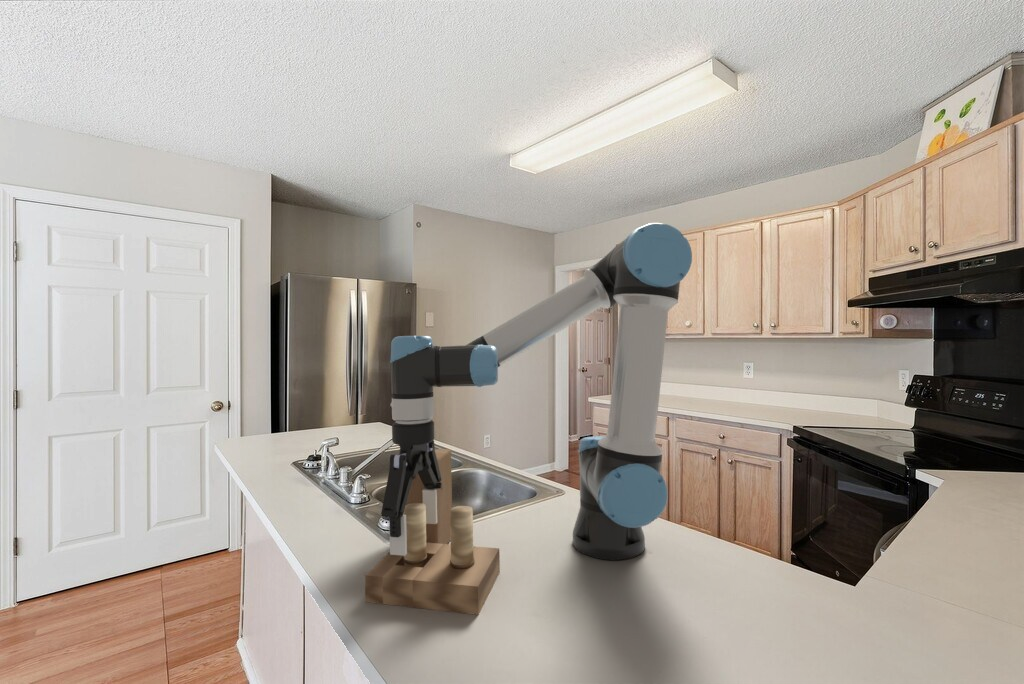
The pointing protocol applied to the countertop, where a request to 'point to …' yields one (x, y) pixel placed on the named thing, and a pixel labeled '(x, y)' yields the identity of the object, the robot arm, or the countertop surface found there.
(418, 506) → the peg
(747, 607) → the countertop surface
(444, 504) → the wooden block
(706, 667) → the countertop surface
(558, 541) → the countertop surface
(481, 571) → the board
